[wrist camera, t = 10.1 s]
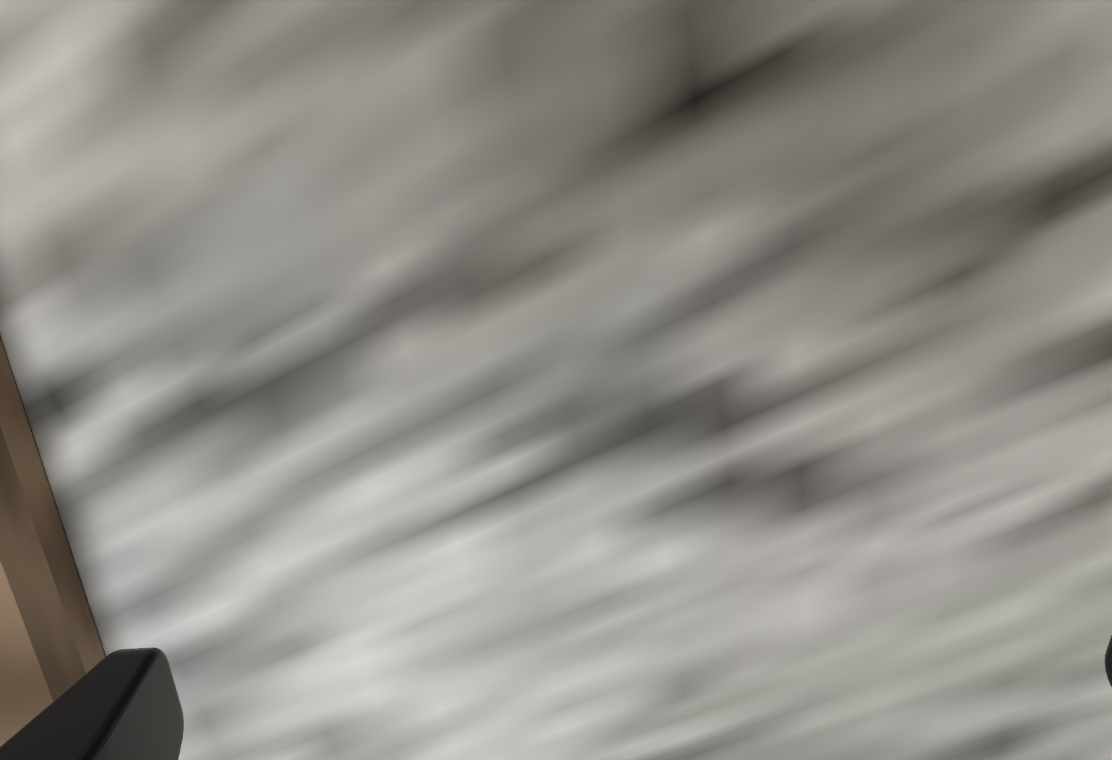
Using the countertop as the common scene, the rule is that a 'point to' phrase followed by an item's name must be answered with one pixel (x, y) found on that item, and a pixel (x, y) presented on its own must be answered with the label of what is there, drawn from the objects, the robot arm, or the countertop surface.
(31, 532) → the puzzle board
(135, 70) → the countertop surface
